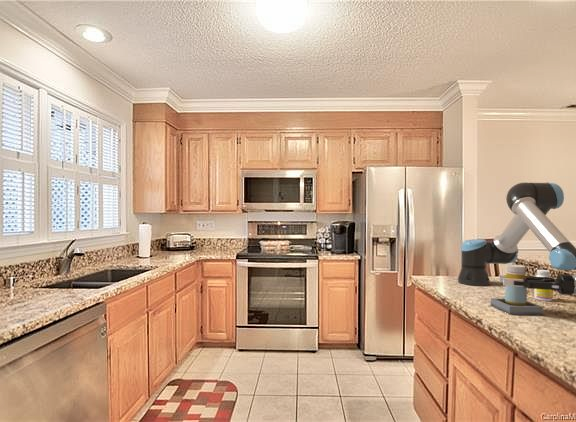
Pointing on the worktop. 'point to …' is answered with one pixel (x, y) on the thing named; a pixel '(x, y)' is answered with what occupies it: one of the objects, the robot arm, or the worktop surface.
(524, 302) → the bottle
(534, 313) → the tray
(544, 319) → the worktop surface
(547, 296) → the supplement bottle
